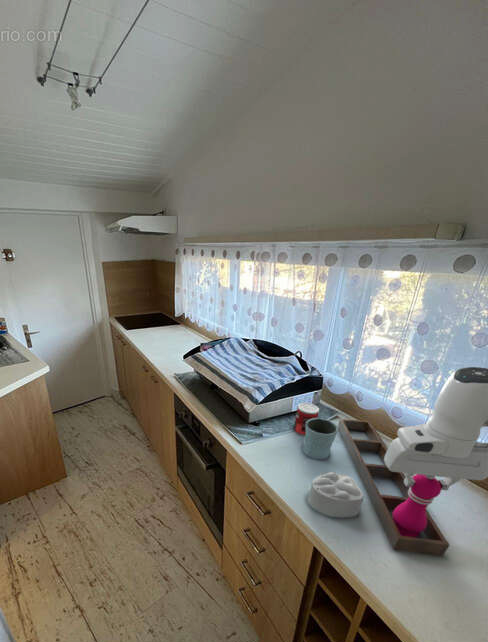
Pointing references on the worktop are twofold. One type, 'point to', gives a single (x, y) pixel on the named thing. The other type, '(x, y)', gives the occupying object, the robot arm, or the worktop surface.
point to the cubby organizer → (382, 503)
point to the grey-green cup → (319, 437)
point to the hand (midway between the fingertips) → (424, 486)
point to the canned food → (304, 416)
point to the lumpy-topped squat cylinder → (335, 495)
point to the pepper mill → (416, 506)
